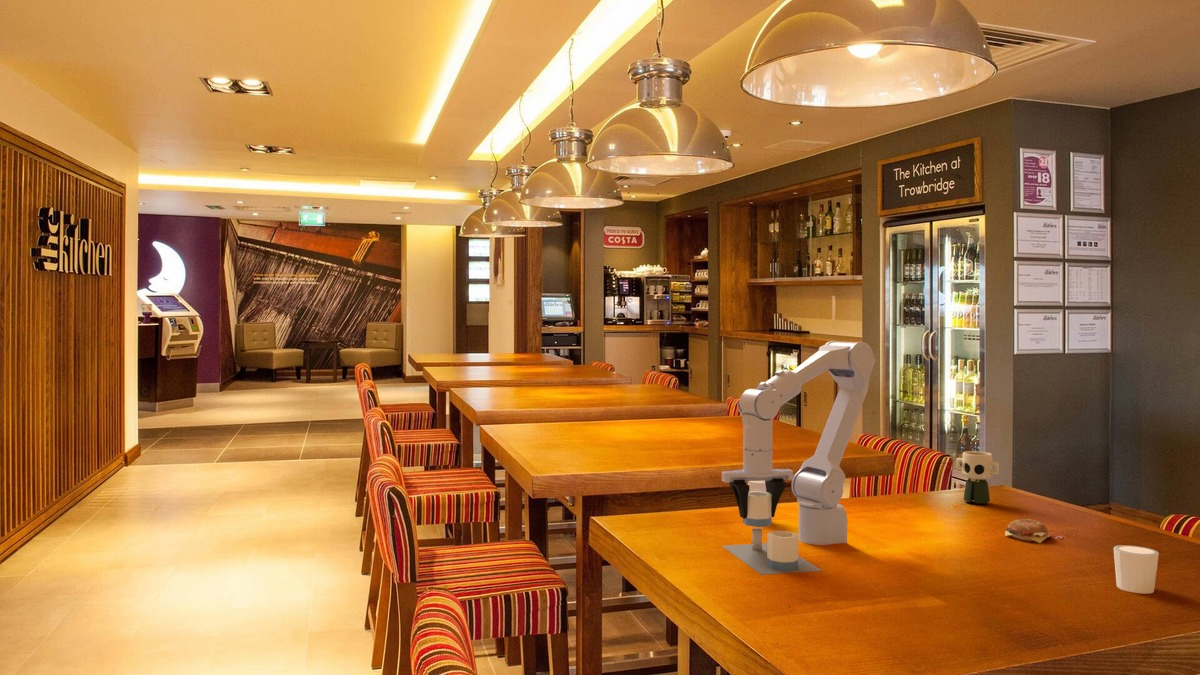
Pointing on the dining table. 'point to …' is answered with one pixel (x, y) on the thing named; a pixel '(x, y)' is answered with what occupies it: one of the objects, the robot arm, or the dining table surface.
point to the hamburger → (1029, 531)
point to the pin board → (763, 556)
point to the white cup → (1135, 568)
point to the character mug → (977, 475)
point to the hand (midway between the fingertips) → (757, 516)
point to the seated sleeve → (782, 550)
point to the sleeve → (758, 509)
